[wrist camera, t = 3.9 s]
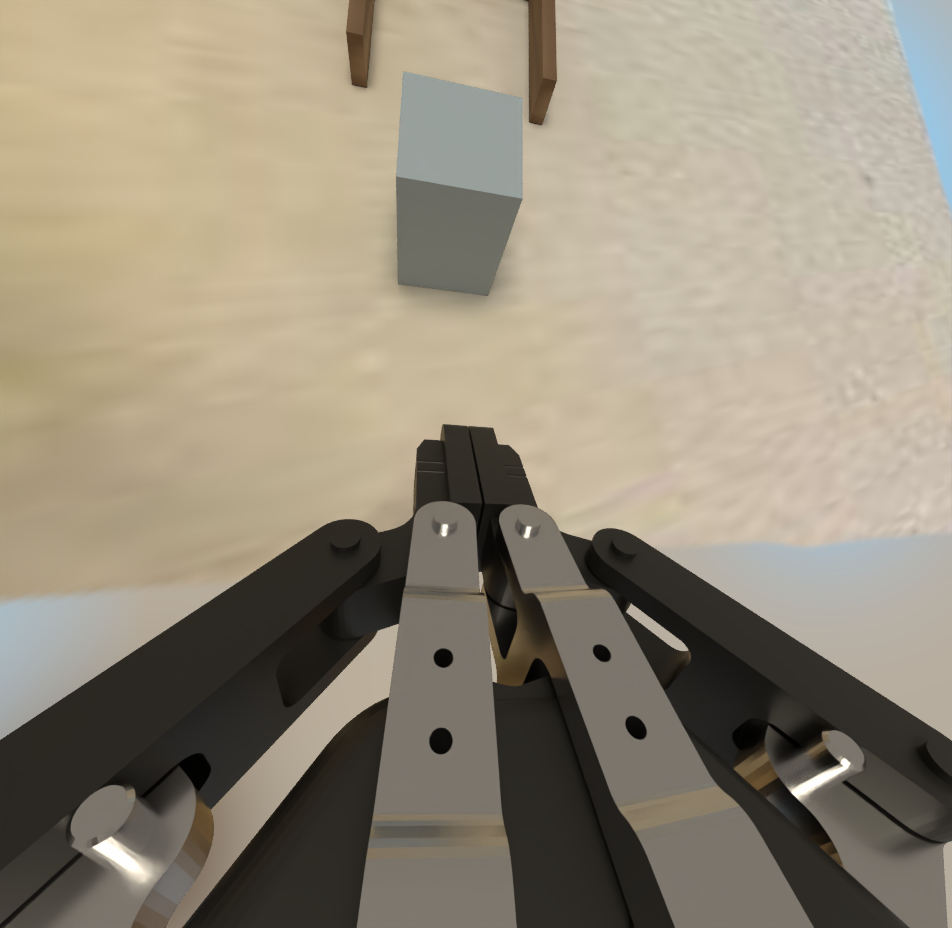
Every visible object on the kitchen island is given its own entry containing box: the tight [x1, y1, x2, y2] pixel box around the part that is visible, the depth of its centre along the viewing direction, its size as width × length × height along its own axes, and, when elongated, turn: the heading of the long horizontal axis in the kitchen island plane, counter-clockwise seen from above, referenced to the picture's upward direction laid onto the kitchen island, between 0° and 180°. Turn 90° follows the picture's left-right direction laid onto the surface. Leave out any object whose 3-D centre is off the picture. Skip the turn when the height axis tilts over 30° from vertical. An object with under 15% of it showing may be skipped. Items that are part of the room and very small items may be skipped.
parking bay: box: [346, 0, 557, 125], centre depth 29 cm, size 14×13×3 cm
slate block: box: [396, 71, 522, 296], centre depth 23 cm, size 6×6×8 cm
